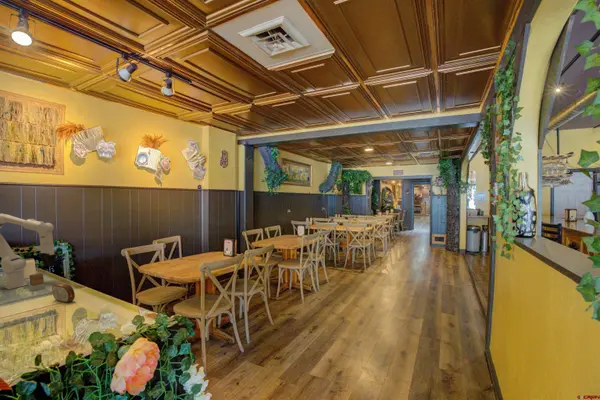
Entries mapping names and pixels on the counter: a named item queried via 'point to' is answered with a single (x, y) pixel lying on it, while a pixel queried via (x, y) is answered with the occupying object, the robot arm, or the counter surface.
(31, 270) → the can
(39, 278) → the walnut block
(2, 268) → the robot arm
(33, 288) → the slate block
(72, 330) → the counter surface
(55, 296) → the tin
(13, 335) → the counter surface
